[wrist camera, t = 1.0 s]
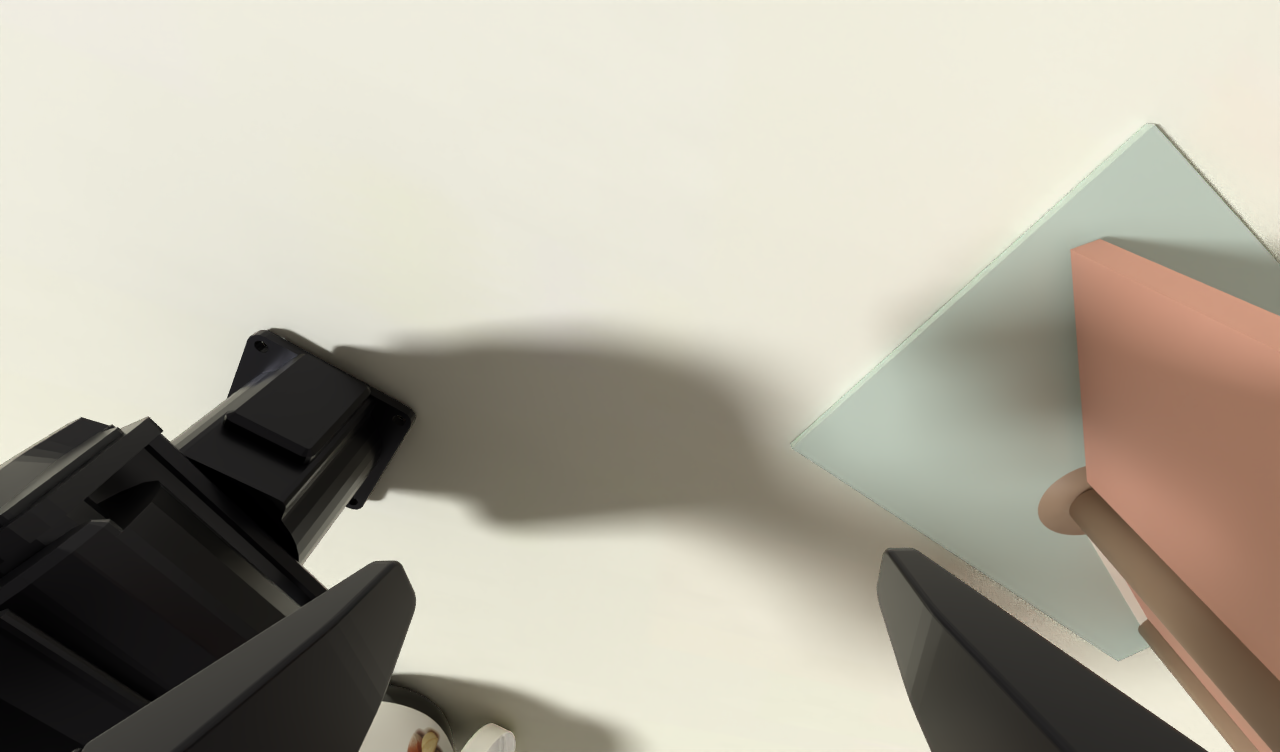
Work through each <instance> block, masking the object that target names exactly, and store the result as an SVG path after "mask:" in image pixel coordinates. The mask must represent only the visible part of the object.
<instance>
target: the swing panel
mask: <svg viewBox="0 0 1280 752" xmlns="http://www.w3.org/2000/svg"><path fill="white" fill-rule="evenodd" d="M1070 252H1071V266H1072V280H1073V294H1074V308H1075V322H1076V336H1077V350H1078V364H1079V378H1080V392H1081V406H1082V420H1083V434H1084V448H1085V462H1086V475H1087V482H1088V483H1089V484H1090V486H1091V487H1092V488H1093V489H1091V490H1089V491H1087V492H1085V493H1083V494H1081V495H1080V496H1078V497H1077V498H1076V499H1075V500H1074V501H1073V502H1072V504H1071V506H1070V509H1069V513H1070V516H1071V518H1072V519H1073V520H1074V521H1075V522H1076V523H1077V525H1078V526H1079V527H1080V528H1081V529H1082V530H1083V532H1084V533H1085V534H1086V535H1087V536H1088V537H1089V539H1090V540H1091V541H1092V542H1093V543H1094V544H1095V546H1096V547H1097V548H1098V549H1099V550H1100V551H1101V553H1102V554H1103V555H1104V556H1105V557H1106V558H1107V559H1108V561H1109V562H1110V563H1111V564H1112V565H1113V566H1114V568H1115V569H1116V570H1117V571H1118V572H1119V573H1120V575H1121V576H1122V577H1123V578H1124V579H1125V580H1126V582H1127V583H1128V584H1129V585H1130V586H1131V587H1132V589H1133V590H1134V591H1135V592H1136V593H1137V594H1138V596H1139V597H1140V598H1141V599H1142V600H1143V601H1144V603H1145V604H1146V605H1147V606H1148V607H1149V608H1150V610H1151V611H1152V612H1153V613H1154V614H1155V615H1156V617H1157V618H1158V619H1159V620H1160V621H1161V622H1162V623H1163V625H1164V626H1165V627H1166V628H1167V629H1168V630H1169V632H1170V633H1171V634H1172V635H1173V636H1174V637H1175V639H1176V640H1177V641H1178V642H1179V643H1180V644H1181V646H1182V647H1183V648H1184V649H1185V650H1186V651H1187V653H1188V654H1189V655H1190V656H1191V657H1192V658H1193V660H1194V661H1195V662H1196V663H1197V664H1198V665H1199V667H1200V668H1201V669H1202V670H1203V671H1204V672H1205V674H1206V675H1207V676H1208V677H1209V678H1210V679H1211V681H1212V682H1213V683H1214V684H1215V685H1216V686H1217V687H1218V689H1219V690H1220V691H1221V692H1222V693H1223V694H1224V696H1225V697H1226V698H1227V699H1228V700H1229V701H1230V703H1231V704H1232V705H1233V706H1234V707H1235V708H1236V710H1237V711H1238V712H1239V713H1240V714H1241V715H1242V717H1243V718H1244V719H1245V720H1246V721H1247V722H1248V724H1249V725H1250V726H1251V727H1252V728H1253V729H1254V731H1255V732H1256V733H1257V734H1258V735H1259V736H1260V738H1261V739H1262V740H1263V741H1264V742H1265V743H1266V745H1267V746H1268V747H1269V748H1270V749H1271V750H1272V751H1273V752H1280V316H1278V315H1276V314H1274V313H1271V312H1269V311H1267V310H1264V309H1262V308H1260V307H1257V306H1255V305H1253V304H1250V303H1248V302H1246V301H1243V300H1241V299H1239V298H1236V297H1234V296H1232V295H1230V294H1227V293H1225V292H1223V291H1220V290H1218V289H1216V288H1213V287H1211V286H1209V285H1206V284H1204V283H1202V282H1199V281H1197V280H1195V279H1192V278H1190V277H1188V276H1185V275H1183V274H1181V273H1178V272H1176V271H1174V270H1171V269H1169V268H1167V267H1164V266H1162V265H1160V264H1157V263H1155V262H1153V261H1150V260H1148V259H1146V258H1143V257H1141V256H1139V255H1136V254H1134V253H1132V252H1129V251H1127V250H1125V249H1122V248H1120V247H1118V246H1115V245H1113V244H1111V243H1108V242H1106V241H1104V240H1101V239H1098V240H1095V241H1093V242H1090V243H1087V244H1084V245H1081V246H1078V247H1076V248H1073V249H1070Z"/></svg>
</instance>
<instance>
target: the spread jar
mask: <svg viewBox="0 0 1280 752" xmlns="http://www.w3.org/2000/svg"><path fill="white" fill-rule="evenodd" d="M515 745H516V741H515V736H514V734H513V733H512V732H511V731H509V730H507V729H505V728H503V727H500V726H498V725H496V724H494V723H489V724H486V725H485V726H483V727H482V728H480V729H479V730H478V731H477V732H476V733H475V734H474V735H473V736H472V737H471V739H470V740H469V741H468V742H467V743H466V745H465V746H464V748H463V749H462V750H461V752H515ZM359 752H455V745H454V741H453V736H452V732H451V729H450V726H449V724H448V721H447V719H446V717H445V716H444V714H443V713H442V711H441V710H440V709H439V708H438V707H437V705H435V704H434V703H433V702H432V701H430V700H429V699H427V698H426V697H424V696H422V695H420V694H418V693H416V692H414V691H411V690H409V689H406V688H402V687H398V686H394V685H388V687H387V690H386V692H385V695H384V698H383V700H382V702H381V705H380V707H379V709H378V711H377V714H376V716H375V718H374V720H373V722H372V724H371V726H370V729H369V731H368V733H367V735H366V737H365V739H364V741H363V743H362V746H361V748H360V750H359Z"/></svg>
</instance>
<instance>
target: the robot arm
mask: <svg viewBox="0 0 1280 752" xmlns="http://www.w3.org/2000/svg"><path fill="white" fill-rule="evenodd" d="M262 342H264V343H265V344H266V345H267V346H268V347H266V346H265V345H264V344H263V343H262ZM397 415H399V416H402V417H403V418H404V419H405V420H402V419H400V418H399V417H398V416H397ZM415 418H416V417H415V413H414V412H413V410H412V409H410V408H409V407H408V406H406V405H404V404H402V403H400V402H399V401H397V400H395V399H393V398H391V397H389V396H388V395H386V394H384V393H382V392H380V391H378V390H377V389H375V388H373V387H371V386H369V385H367V384H366V383H364V382H362V381H360V380H358V379H356V378H355V377H353V376H351V375H349V374H347V373H345V372H344V371H342V370H340V369H338V368H336V367H334V366H333V365H331V364H329V363H327V362H325V361H323V360H322V359H320V358H318V357H316V356H314V355H313V354H311V353H309V352H307V351H305V350H303V349H302V348H300V347H298V346H296V345H294V344H292V343H291V342H289V341H287V340H285V339H283V338H281V337H280V336H278V335H276V334H274V333H272V332H270V331H267V330H260V331H258V332H256V333H254V334H253V335H251V336H250V337H249V339H248V340H247V343H246V346H245V349H244V352H243V355H242V357H241V360H240V363H239V366H238V369H237V372H236V374H235V377H234V380H233V383H232V386H231V389H230V391H229V394H228V397H227V399H226V400H225V401H223V402H222V403H221V404H219V405H218V406H217V407H215V408H214V409H213V410H211V411H210V412H209V413H208V414H206V415H205V416H204V417H202V418H201V419H200V420H198V421H197V422H196V423H194V424H193V425H192V426H191V427H189V428H188V429H187V430H185V431H184V432H183V433H181V434H180V435H179V436H177V437H176V438H175V439H173V440H172V441H171V442H170V441H169V440H168V439H166V438H165V437H164V436H163V435H162V434H161V433H162V432H163V430H162V429H161V428H160V427H159V426H158V425H157V424H156V423H155V422H154V421H153V420H152V419H150V418H149V417H146V418H143V419H141V420H139V421H137V422H134V423H132V424H130V425H128V426H125V427H123V428H121V429H120V428H118V427H115V426H114V425H113V424H112V425H105V424H102V423H99V422H96V421H92V420H89V419H86V418H82V417H81V418H79V419H77V420H75V421H73V422H71V423H68V424H67V425H65V426H63V427H62V428H60V429H58V430H57V431H55V432H53V433H52V434H50V435H48V436H47V437H45V438H43V439H42V440H40V441H39V442H37V443H35V444H34V445H32V446H30V447H29V448H27V449H25V450H24V451H22V452H20V453H19V454H17V455H16V456H14V457H12V458H11V459H9V460H8V461H6V462H4V463H3V464H1V465H0V752H359V750H360V748H361V746H362V743H363V741H364V739H365V737H366V735H367V733H368V731H369V729H370V726H371V724H372V722H373V720H374V718H375V716H376V714H377V711H378V709H379V707H380V705H381V702H382V700H383V698H384V695H385V692H386V690H387V687H388V685H389V682H390V679H391V676H392V673H393V671H394V668H395V665H396V662H397V659H398V657H399V654H400V651H401V648H402V645H403V642H404V640H405V637H406V634H407V631H408V628H409V625H410V623H411V620H412V617H413V614H414V611H415V606H416V597H415V592H414V590H413V588H412V586H411V583H410V581H409V579H408V577H407V575H406V573H405V570H404V568H403V566H402V564H400V563H399V562H398V561H375V562H372V563H370V564H368V565H367V566H365V567H364V568H362V569H360V570H359V571H357V572H356V573H354V574H353V575H351V576H349V577H348V578H346V579H345V580H343V581H342V582H340V583H338V584H337V585H335V586H334V587H332V588H330V589H329V590H328V589H327V588H326V587H325V586H324V585H323V584H321V583H320V582H319V581H318V580H317V579H316V578H315V577H314V576H313V575H312V574H311V573H310V572H309V571H308V570H306V569H305V568H304V567H303V566H302V565H303V564H304V562H305V561H306V560H307V558H308V557H309V555H310V554H311V553H312V551H313V550H314V549H315V547H316V546H317V545H318V543H319V542H320V540H321V539H322V538H323V536H324V535H325V534H326V532H327V531H328V530H329V528H330V527H331V525H332V524H333V523H334V521H335V520H336V519H337V517H338V516H339V515H340V513H341V512H342V510H343V509H344V508H345V506H346V507H348V508H351V509H360V508H361V507H363V505H364V504H365V502H366V501H367V499H368V498H369V496H370V494H371V493H372V491H373V489H374V488H375V486H376V484H377V483H378V481H379V479H380V478H381V476H382V474H383V473H384V471H385V469H386V468H387V466H388V464H389V463H390V461H391V459H392V458H393V456H394V454H395V453H396V451H397V450H398V448H399V446H400V445H401V443H402V441H403V440H404V438H405V436H406V435H407V433H408V431H409V430H410V428H411V426H412V425H413V423H414V421H415ZM877 595H878V601H879V605H880V608H881V612H882V615H883V618H884V621H885V624H886V628H887V631H888V634H889V637H890V641H891V644H892V647H893V650H894V653H895V657H896V660H897V663H898V666H899V670H900V673H901V676H902V679H903V682H904V685H905V688H906V691H907V694H908V697H909V700H910V703H911V705H912V708H913V710H914V713H915V715H916V718H917V720H918V722H919V725H920V727H921V729H922V731H923V734H924V736H925V738H926V741H927V743H928V745H929V747H930V750H931V752H1208V751H1207V750H1205V749H1204V748H1202V747H1201V746H1199V745H1198V744H1196V743H1195V742H1194V741H1192V740H1191V739H1189V738H1188V737H1186V736H1185V735H1183V734H1182V733H1181V732H1179V731H1178V730H1176V729H1175V728H1173V727H1172V726H1170V725H1169V724H1168V723H1166V722H1165V721H1163V720H1162V719H1160V718H1159V717H1157V716H1156V715H1155V714H1153V713H1152V712H1150V711H1149V710H1147V709H1146V708H1144V707H1143V706H1142V705H1140V704H1139V703H1137V702H1136V701H1134V700H1133V699H1131V698H1130V697H1129V696H1127V695H1126V694H1124V693H1123V692H1121V691H1120V690H1118V689H1117V688H1116V687H1114V686H1113V685H1111V684H1110V683H1108V682H1107V681H1105V680H1104V679H1103V678H1101V677H1100V676H1098V675H1097V674H1095V673H1094V672H1092V671H1091V670H1090V669H1088V668H1087V667H1085V666H1084V665H1082V664H1081V663H1079V662H1078V661H1077V660H1075V659H1074V658H1072V657H1071V656H1069V655H1068V654H1066V653H1065V652H1064V651H1062V650H1061V649H1059V648H1058V647H1056V646H1055V645H1053V644H1052V643H1051V642H1049V641H1048V640H1046V639H1045V638H1043V637H1042V636H1040V635H1039V634H1038V633H1036V632H1035V631H1033V630H1032V629H1030V628H1029V627H1027V626H1026V625H1025V624H1023V623H1022V622H1020V621H1019V620H1017V619H1016V618H1014V617H1013V616H1012V615H1010V614H1009V613H1007V612H1006V611H1004V610H1003V609H1001V608H1000V607H999V606H997V605H996V604H994V603H993V602H991V601H990V600H988V599H987V598H986V597H984V596H983V595H981V594H980V593H978V592H977V591H975V590H974V589H973V588H971V587H970V586H968V585H967V584H965V583H964V582H962V581H961V580H960V579H958V578H957V577H955V576H954V575H952V574H951V573H949V572H948V571H947V570H945V569H944V568H942V567H941V566H939V565H938V564H936V563H935V562H934V561H932V560H931V559H929V558H928V557H926V556H925V555H923V554H922V553H921V552H919V551H917V550H915V549H913V548H889V549H886V550H885V552H884V553H883V557H882V562H881V567H880V573H879V578H878V583H877Z"/></svg>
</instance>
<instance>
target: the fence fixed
mask: <svg viewBox="0 0 1280 752" xmlns="http://www.w3.org/2000/svg"><path fill="white" fill-rule="evenodd" d="M1080 470H1081V471H1080ZM1075 473H1076V474H1075ZM1060 480H1061V481H1060ZM1060 480H1059V479H1058V480H1057V481H1056V482H1054V483H1053V484H1052V485H1051V486H1050V487H1049V488H1048V489H1047V490H1046V492H1045V493H1044V494H1043V496H1042V498H1041V500H1040V502H1039V505H1038V516H1039V519H1040V521H1041V522H1042V523H1043V525H1044V526H1046V527H1047V528H1048V529H1050V530H1052V531H1054V532H1056V533H1060V534H1065V535H1086V534H1085V533H1084V532H1083V530H1082V529H1081V528H1080V527H1079V526H1078V525H1077V523H1076V522H1075V521H1074V520H1073V519H1072V518H1071V516H1070V513H1069V509H1070V506H1071V504H1072V502H1073V501H1074V500H1075V499H1076V498H1077V497H1078V496H1080V495H1081V494H1083V493H1085V492H1087V491H1089V490H1091V489H1093V488H1092V487H1091V486H1090V484H1089V483H1088V482H1087V475H1086V466H1084V467H1081V468H1078V469H1076V470H1074V471H1072V472H1070V473H1068V475H1067V474H1066V475H1064V476H1063V477H1061V478H1060ZM1078 483H1079V484H1078ZM1062 484H1063V485H1062ZM1070 486H1071V487H1070ZM1080 488H1081V489H1082V490H1083V491H1082V490H1081V489H1080ZM1060 489H1061V490H1060ZM1066 492H1067V493H1066ZM1072 493H1073V494H1074V495H1073V494H1072ZM1064 495H1065V496H1064ZM1069 496H1070V497H1069ZM1071 496H1072V497H1071ZM1067 501H1068V502H1067ZM1059 502H1060V503H1059ZM1066 505H1067V506H1066ZM1069 505H1070V506H1069ZM1062 509H1063V510H1062ZM1061 517H1062V518H1061ZM1071 521H1072V522H1071ZM1058 530H1059V531H1058ZM1125 581H1126V580H1125ZM1127 584H1128V583H1127ZM1128 586H1129V587H1130V589H1131V591H1132V593H1133V594H1134V596H1135V598H1136V600H1137V601H1138V603H1139V605H1140V607H1141V608H1142V610H1143V612H1144V613H1145V615H1146V617H1147V620H1146V621H1144V622H1143V623H1142V624H1141V625H1139V627H1138V632H1139V633H1140V635H1141V636H1142V637H1143V638H1144V640H1145V641H1146V642H1147V643H1148V645H1149V646H1150V647H1151V648H1152V650H1153V651H1154V652H1155V653H1156V655H1157V656H1158V657H1159V658H1160V660H1161V661H1162V662H1163V663H1164V664H1165V666H1166V667H1167V668H1168V669H1169V671H1170V672H1171V673H1172V674H1173V676H1174V677H1175V678H1176V679H1177V681H1178V682H1179V683H1180V684H1181V686H1182V687H1183V688H1184V689H1185V691H1186V692H1187V693H1188V694H1189V696H1190V697H1191V698H1192V699H1193V701H1194V702H1195V703H1196V704H1197V705H1198V707H1199V708H1200V709H1201V710H1202V712H1203V713H1204V714H1205V715H1206V717H1207V718H1208V719H1209V720H1210V722H1211V723H1212V724H1213V725H1214V727H1215V728H1216V729H1217V730H1218V732H1219V733H1220V734H1221V735H1222V737H1223V738H1224V739H1225V740H1226V742H1227V743H1228V744H1229V745H1230V747H1231V748H1232V749H1233V750H1234V751H1235V752H1273V751H1272V750H1271V749H1270V748H1269V747H1268V746H1267V745H1266V743H1265V742H1264V741H1263V740H1262V739H1261V738H1260V736H1259V735H1258V734H1257V733H1256V732H1255V731H1254V729H1253V728H1252V727H1251V726H1250V725H1249V724H1248V722H1247V721H1246V720H1245V719H1244V718H1243V717H1242V715H1241V714H1240V713H1239V712H1238V711H1237V710H1236V708H1235V707H1234V706H1233V705H1232V704H1231V703H1230V701H1229V700H1228V699H1227V698H1226V697H1225V696H1224V694H1223V693H1222V692H1221V691H1220V690H1219V689H1218V687H1217V686H1216V685H1215V684H1214V683H1213V682H1212V681H1211V679H1210V678H1209V677H1208V676H1207V675H1206V674H1205V672H1204V671H1203V670H1202V669H1201V668H1200V667H1199V665H1198V664H1197V663H1196V662H1195V661H1194V660H1193V658H1192V657H1191V656H1190V655H1189V654H1188V653H1187V651H1186V650H1185V649H1184V648H1183V647H1182V646H1181V644H1180V643H1179V642H1178V641H1177V640H1176V639H1175V637H1174V636H1173V635H1172V634H1171V633H1170V632H1169V630H1168V629H1167V628H1166V627H1165V626H1164V625H1163V623H1162V622H1161V621H1160V620H1159V619H1158V618H1157V617H1156V615H1155V614H1154V613H1153V612H1152V611H1151V610H1150V608H1149V607H1148V606H1147V605H1146V604H1145V603H1144V601H1143V600H1142V599H1141V598H1140V597H1139V596H1138V594H1137V593H1136V592H1135V591H1134V590H1133V589H1132V587H1131V586H1130V585H1129V584H1128Z"/></svg>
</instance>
